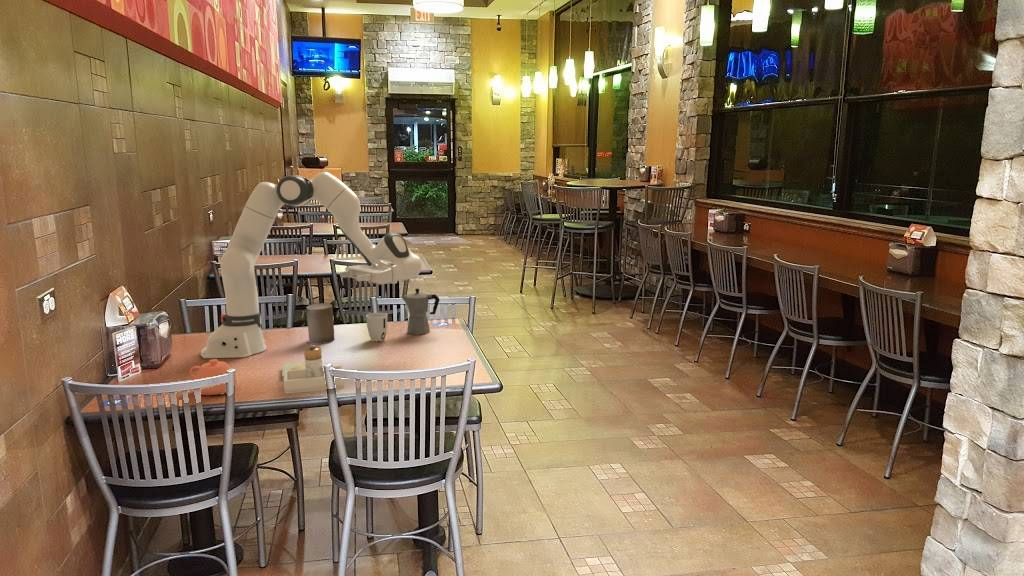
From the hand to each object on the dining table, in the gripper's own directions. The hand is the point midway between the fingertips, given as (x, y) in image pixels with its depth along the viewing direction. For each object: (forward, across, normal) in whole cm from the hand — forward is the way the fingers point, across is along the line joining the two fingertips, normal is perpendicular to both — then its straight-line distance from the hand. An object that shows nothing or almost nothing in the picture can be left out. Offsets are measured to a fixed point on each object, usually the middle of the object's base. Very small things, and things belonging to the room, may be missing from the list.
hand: (348, 276), depth 238 cm
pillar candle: (-6, -32, +30) cm, 44 cm away
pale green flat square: (+19, -1, +30) cm, 36 cm away
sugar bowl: (+47, -5, +30) cm, 56 cm away
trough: (+23, +13, +30) cm, 40 cm away
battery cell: (+23, +13, +29) cm, 39 cm away
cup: (-22, -16, +30) cm, 40 cm away
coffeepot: (-41, -13, +30) cm, 52 cm away
